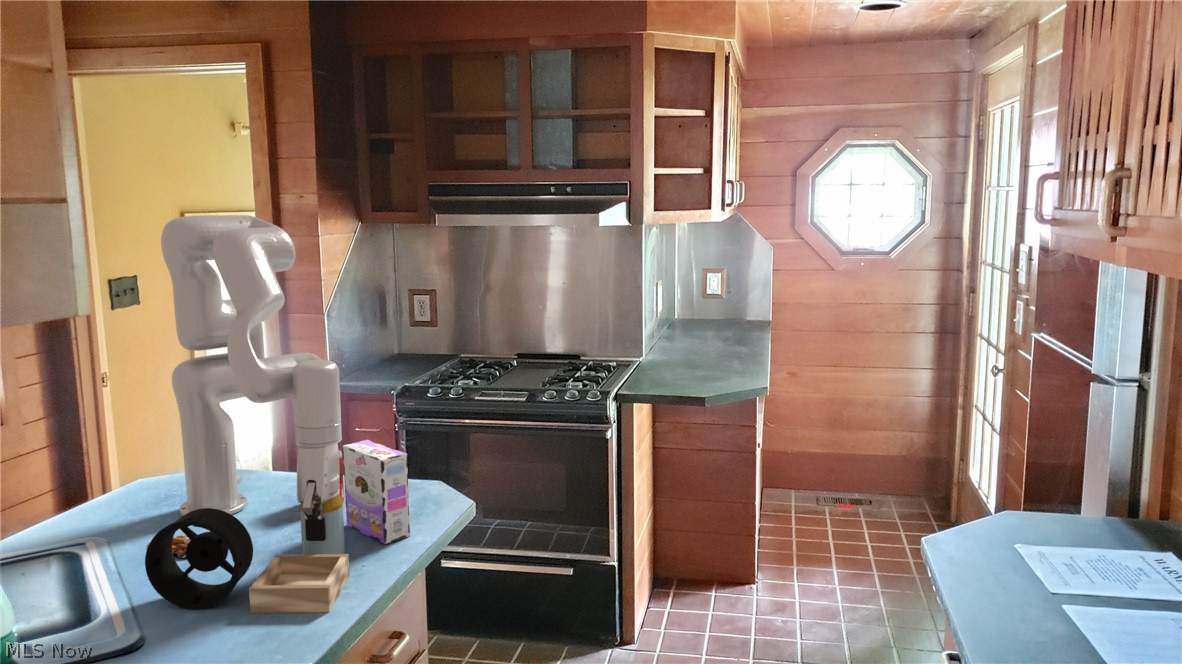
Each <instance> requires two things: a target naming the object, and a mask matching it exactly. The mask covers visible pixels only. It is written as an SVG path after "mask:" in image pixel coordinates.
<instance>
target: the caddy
mask: <svg viewBox="0 0 1182 664" xmlns="http://www.w3.org/2000/svg"><path fill="white" fill-rule="evenodd" d="M349 556H350V555H349V553H344V554H302V553H301V554H275V555H274V557H273V558H272V559H271V561H270V562H269V563H268V564H267V566H266V567H265V568H264V570H262V572H261V573H260V575H259V576H258V577H257V578H256V579H255V580H254V582H253V583H252V584H251V586H250V587H249V588H248V594H249V609H250V614H270V613H271V614H273V613H274V614H277V613H283V614H284V613H288V614H291V613H330V612H331V610H332V609H333V607H334V605H335V603H336V601H337V600H338V597H339V595H340V594H341V592H342V591H343V589H344V587H345V585H346V584H347V581H348V580H349V578H350V560H349V559H350V558H349Z"/></svg>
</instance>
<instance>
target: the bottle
mask: <svg viewBox="0 0 1182 664" xmlns="http://www.w3.org/2000/svg"><path fill="white" fill-rule="evenodd" d="M339 487H340V485H339V475H338V474H337V475H336V477H335V478H334V479H333V480H332V481H331V487H330V496H329V499H328V500H327V501H326V502H324V511H323V518H325V526H326V539H325V540H324V541H307V540H306V527H305V513H304V509H303V503H304V501H303V502H302V503H299V504H300V507H299V508H300V509H299V512H300V529H301V531H300V533H301V534H300V535H301V550H302V552H301V554H345V549H346V548H345V528H344V506H343V505H344V501H342V498H341V496H340V494H339V492H340V490H339ZM320 499H321V497H314V500H320ZM313 505H314V508H317V510H318V511H319V504H313Z"/></svg>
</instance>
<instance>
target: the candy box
mask: <svg viewBox="0 0 1182 664" xmlns="http://www.w3.org/2000/svg"><path fill="white" fill-rule="evenodd" d="M341 448H342V460H343V482H344V498H345V510H346V512H345V513H346V525H347V526H348V527H349V528H351V529H354V530H355V531H357V532H360V533H362V534H363V535H365V536H367V537H370V538H371V539H373V540H376V541H378V542H380V543H382V544H384V545H387V544H391V543H393V542H396V541H400V540H402V539H406V538H408V537H410V536H411V529H410V507H409V505H410V504H409V503H410V502H409V501H410V500H409V473H408V472H409V471H408V453H406V452H403V451H400V450H397V449H394V448H392V447H388V446H386V445H383V444H380V443H377V442H375V441H372V440H369V439H364V440H360V441H357V442H352V443H349V444H348V443H347V444H344V445H342V447H341Z"/></svg>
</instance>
